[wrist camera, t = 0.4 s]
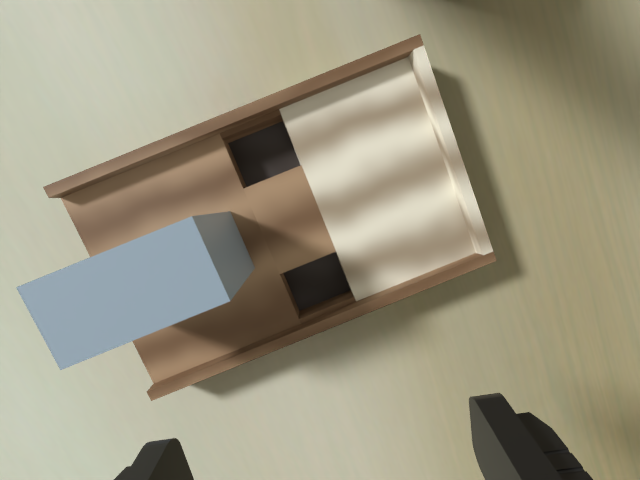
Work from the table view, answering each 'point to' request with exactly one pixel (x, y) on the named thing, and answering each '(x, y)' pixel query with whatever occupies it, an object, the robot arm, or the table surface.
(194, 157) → the board
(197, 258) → the block
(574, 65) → the table surface
